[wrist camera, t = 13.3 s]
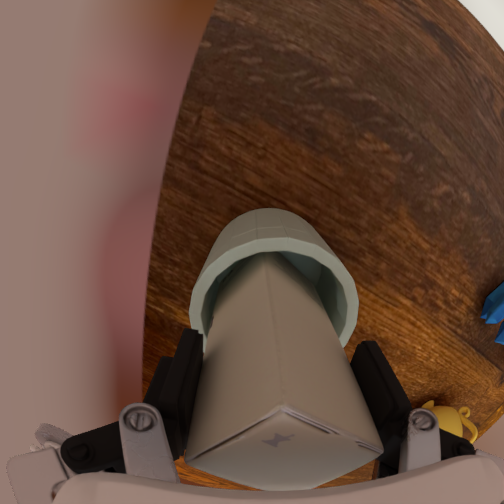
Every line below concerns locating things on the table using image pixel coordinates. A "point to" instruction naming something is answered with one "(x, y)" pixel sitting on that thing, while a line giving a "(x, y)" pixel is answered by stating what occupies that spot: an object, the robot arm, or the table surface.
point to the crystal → (495, 311)
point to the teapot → (452, 419)
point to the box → (276, 386)
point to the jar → (293, 249)
